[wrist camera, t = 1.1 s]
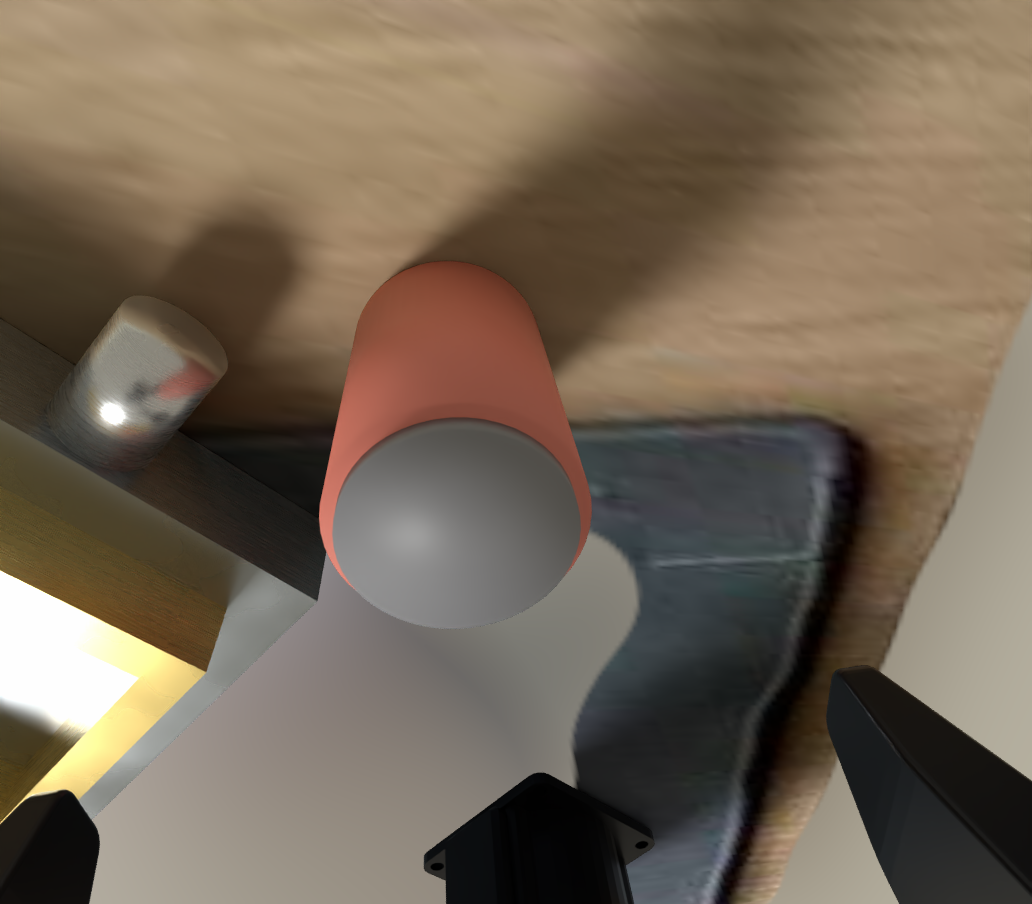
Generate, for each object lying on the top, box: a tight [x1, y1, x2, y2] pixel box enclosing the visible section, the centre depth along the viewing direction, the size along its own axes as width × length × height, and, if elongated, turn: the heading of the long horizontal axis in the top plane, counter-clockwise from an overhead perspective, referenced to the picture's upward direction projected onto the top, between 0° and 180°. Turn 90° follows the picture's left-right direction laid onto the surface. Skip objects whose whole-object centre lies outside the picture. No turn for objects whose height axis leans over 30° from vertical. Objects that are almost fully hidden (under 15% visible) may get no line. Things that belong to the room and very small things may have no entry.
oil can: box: [319, 261, 592, 629], centre depth 16 cm, size 4×4×7 cm
